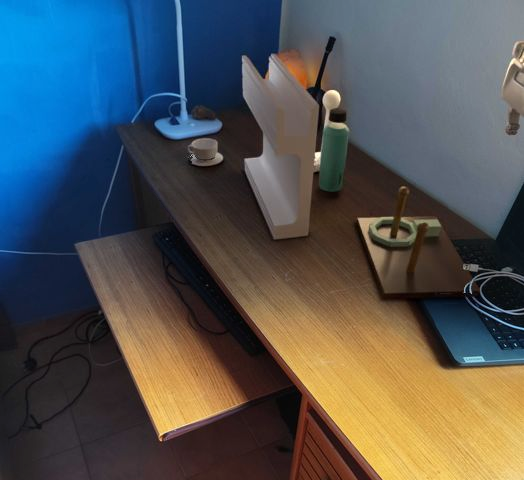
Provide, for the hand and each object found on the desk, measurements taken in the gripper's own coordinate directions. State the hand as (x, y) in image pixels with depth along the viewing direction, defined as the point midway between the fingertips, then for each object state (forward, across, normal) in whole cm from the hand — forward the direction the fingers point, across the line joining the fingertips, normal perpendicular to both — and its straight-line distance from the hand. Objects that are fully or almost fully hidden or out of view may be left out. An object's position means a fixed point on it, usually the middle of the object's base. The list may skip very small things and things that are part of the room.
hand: (521, 144), depth 85 cm
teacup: (+24, +50, +61) cm, 82 cm away
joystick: (+24, +43, +29) cm, 57 cm away
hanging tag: (+23, +7, +15) cm, 28 cm away
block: (+24, +26, +43) cm, 56 cm away
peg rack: (+24, 0, +14) cm, 28 cm away
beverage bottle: (+24, +30, +28) cm, 48 cm away
